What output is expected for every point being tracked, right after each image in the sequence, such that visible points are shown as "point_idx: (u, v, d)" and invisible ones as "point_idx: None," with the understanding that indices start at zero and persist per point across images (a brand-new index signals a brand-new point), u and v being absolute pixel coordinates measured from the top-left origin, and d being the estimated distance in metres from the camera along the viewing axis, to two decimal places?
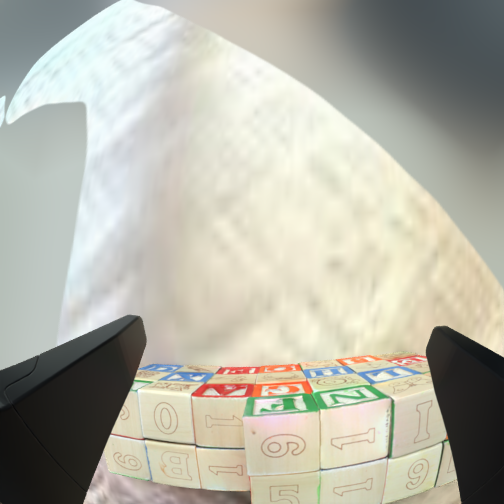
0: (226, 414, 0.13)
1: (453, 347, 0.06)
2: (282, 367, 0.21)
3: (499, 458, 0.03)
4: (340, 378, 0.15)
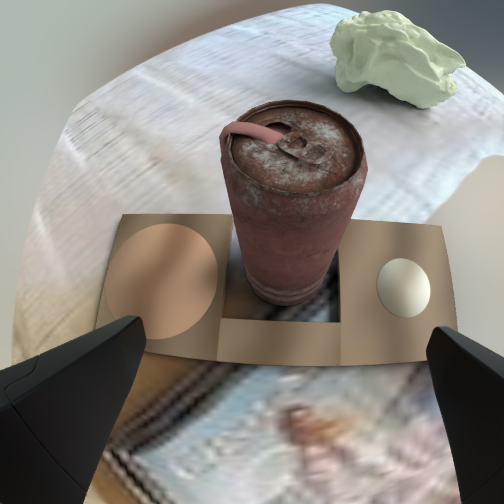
0: None
1: (453, 347, 0.06)
2: None
3: (499, 459, 0.03)
4: None
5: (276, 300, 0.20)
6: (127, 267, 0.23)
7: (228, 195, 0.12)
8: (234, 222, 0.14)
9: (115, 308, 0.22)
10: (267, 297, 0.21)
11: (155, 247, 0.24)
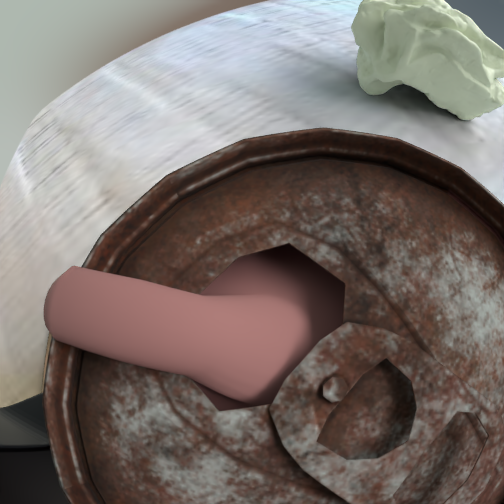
0: None
1: None
2: None
3: None
4: None
5: None
6: None
7: None
8: None
9: None
10: None
11: None
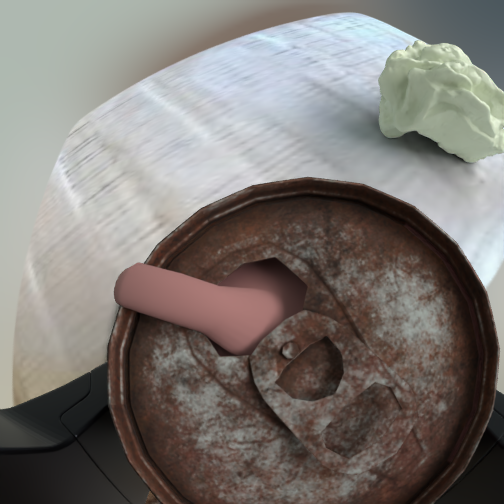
0: None
1: None
2: None
3: None
4: None
5: None
6: None
7: None
8: None
9: None
10: None
11: None
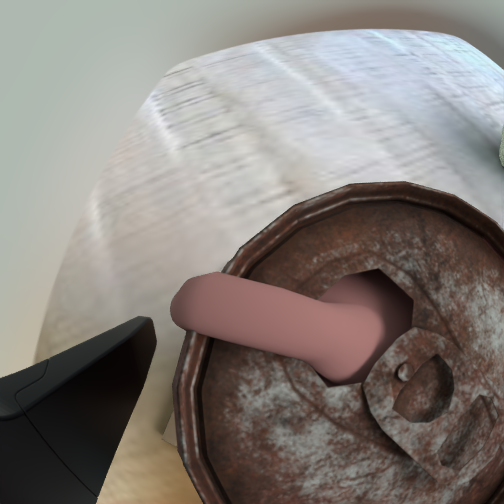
0: None
1: None
2: None
3: None
4: None
5: None
6: None
7: None
8: None
9: None
10: None
11: None
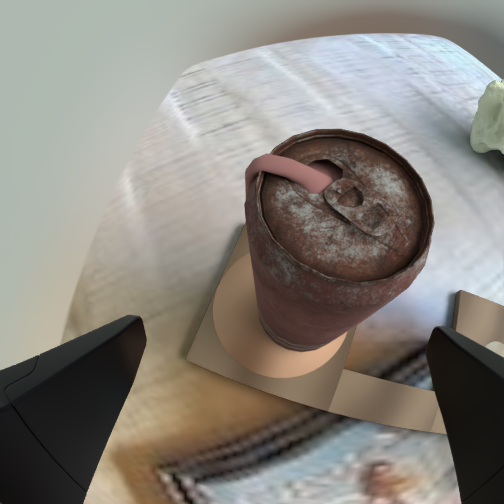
0: None
1: (453, 347, 0.06)
2: None
3: (499, 459, 0.03)
4: None
5: (289, 347, 0.18)
6: (247, 285, 0.21)
7: (250, 251, 0.10)
8: (253, 275, 0.12)
9: (223, 329, 0.20)
10: (279, 343, 0.18)
11: None
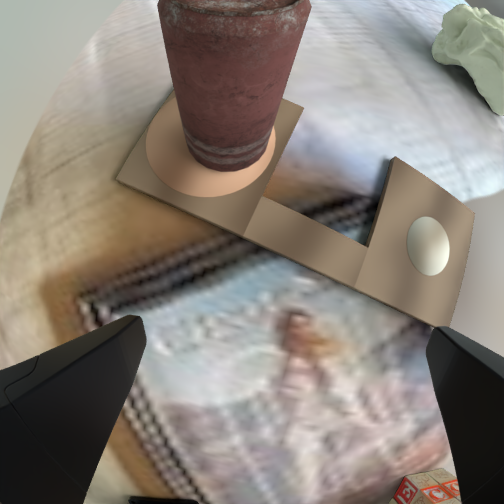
0: None
1: (453, 347, 0.06)
2: None
3: (499, 459, 0.03)
4: None
5: (207, 160, 0.19)
6: None
7: (161, 26, 0.09)
8: None
9: (153, 151, 0.20)
10: (199, 156, 0.19)
11: None
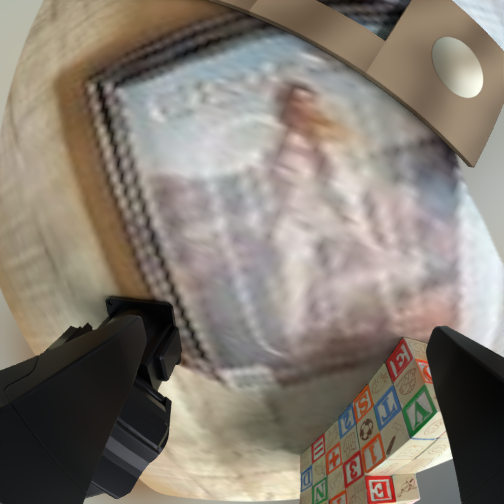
0: (415, 468, 0.17)
1: (453, 347, 0.06)
2: None
3: (499, 458, 0.03)
4: None
5: None
6: None
7: None
8: None
9: None
10: None
11: None
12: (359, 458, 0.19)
